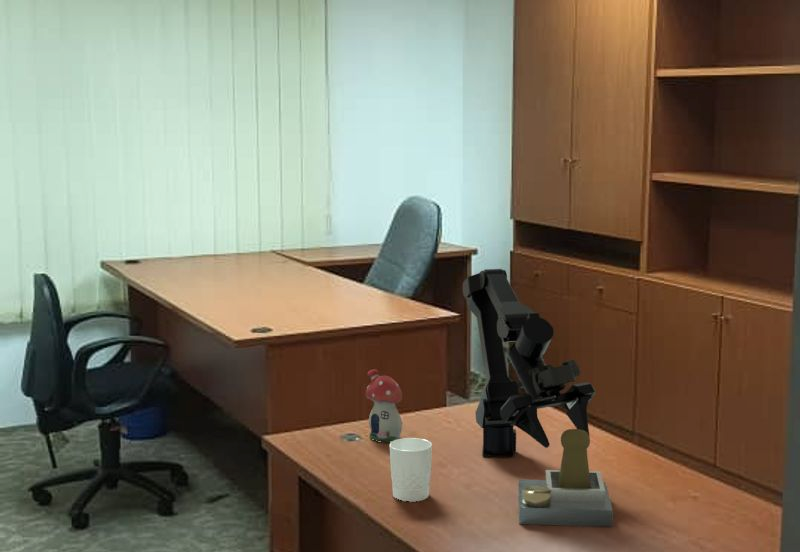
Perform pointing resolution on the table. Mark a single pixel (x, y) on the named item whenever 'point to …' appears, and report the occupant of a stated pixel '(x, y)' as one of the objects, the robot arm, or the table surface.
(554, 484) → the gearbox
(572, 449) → the olive knobbed post
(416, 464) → the white cup
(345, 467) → the table surface
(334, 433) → the table surface
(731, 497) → the table surface
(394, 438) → the decorative ornament
